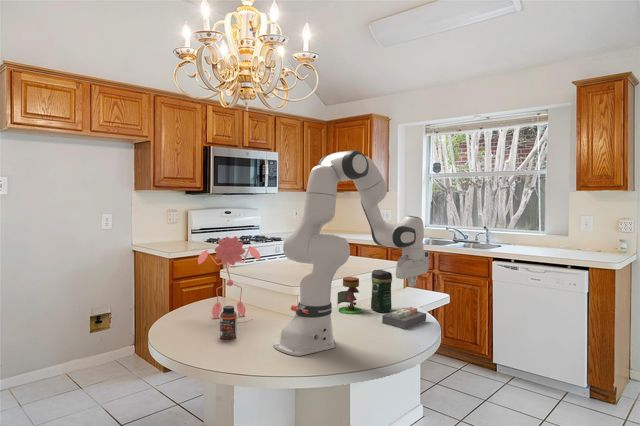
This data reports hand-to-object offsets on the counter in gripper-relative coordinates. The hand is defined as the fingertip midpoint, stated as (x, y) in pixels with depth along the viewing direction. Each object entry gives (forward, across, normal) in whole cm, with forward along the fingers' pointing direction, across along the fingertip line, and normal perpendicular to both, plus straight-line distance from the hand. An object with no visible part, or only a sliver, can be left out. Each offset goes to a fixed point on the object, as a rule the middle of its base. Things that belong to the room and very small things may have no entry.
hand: (412, 286), depth 183 cm
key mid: (+12, -5, 0) cm, 13 cm away
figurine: (+14, -56, +53) cm, 79 cm away
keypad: (+14, -6, 0) cm, 15 cm away
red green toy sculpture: (+15, -8, +27) cm, 32 cm away
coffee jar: (+15, +3, +18) cm, 23 cm away
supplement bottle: (+14, -69, +34) cm, 79 cm away
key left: (+12, -10, 0) cm, 16 cm away
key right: (+12, 0, 0) cm, 12 cm away
